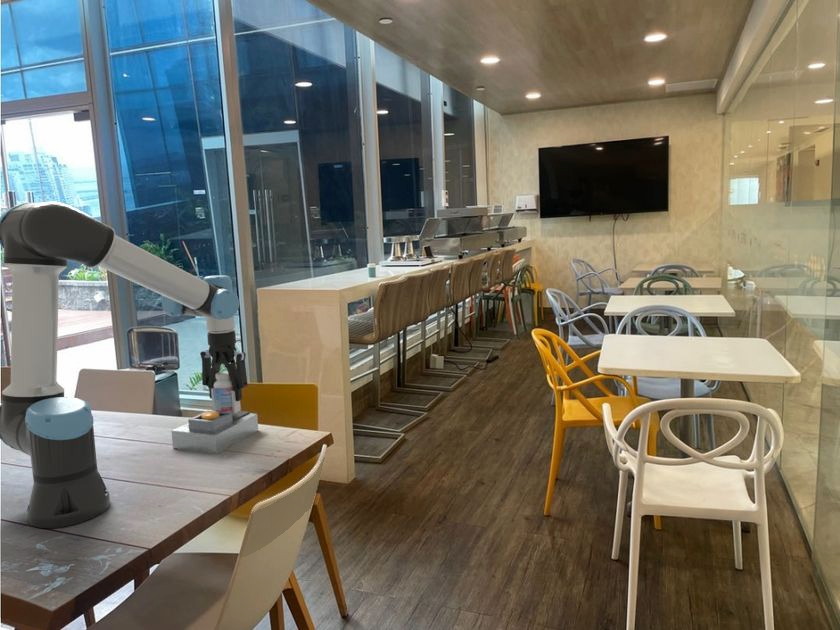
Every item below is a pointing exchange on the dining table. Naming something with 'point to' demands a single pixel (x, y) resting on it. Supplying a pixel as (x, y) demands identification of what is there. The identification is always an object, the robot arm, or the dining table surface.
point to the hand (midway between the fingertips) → (226, 410)
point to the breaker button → (210, 416)
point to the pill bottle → (223, 393)
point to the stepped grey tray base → (214, 431)
